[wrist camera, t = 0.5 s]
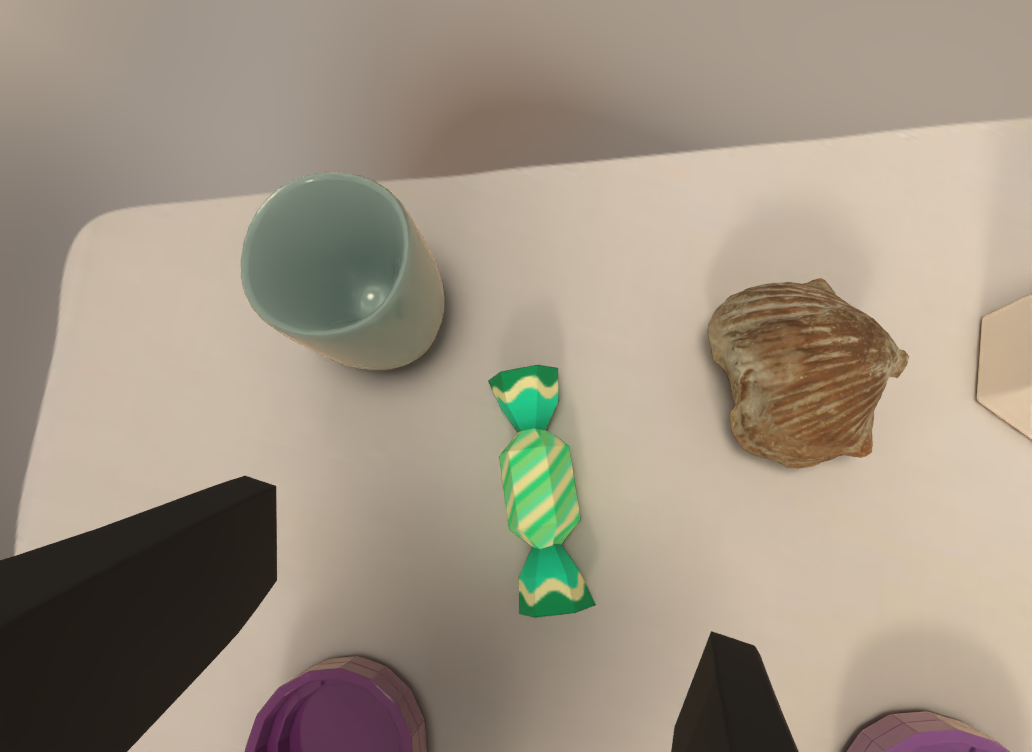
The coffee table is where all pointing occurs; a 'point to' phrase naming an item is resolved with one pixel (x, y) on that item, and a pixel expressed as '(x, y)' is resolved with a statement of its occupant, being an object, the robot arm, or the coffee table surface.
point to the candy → (540, 493)
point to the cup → (343, 272)
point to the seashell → (802, 371)
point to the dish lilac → (922, 735)
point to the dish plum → (340, 712)
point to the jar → (1008, 364)
